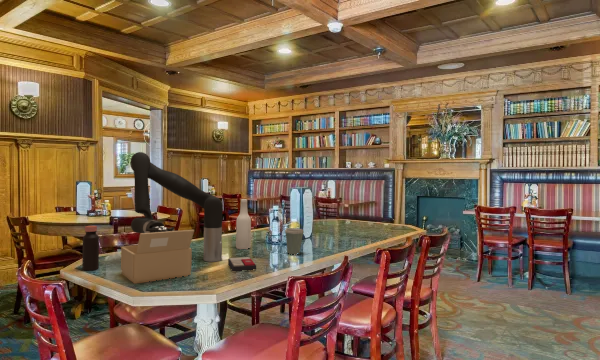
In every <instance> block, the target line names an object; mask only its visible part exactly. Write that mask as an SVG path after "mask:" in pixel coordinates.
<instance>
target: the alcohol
mask: <svg viewBox="0 0 600 360" xmlns="http://www.w3.org/2000/svg"><path fill="white" fill-rule="evenodd" d="M239 209H240V210H239V214H238V216H237V217H236V225H235V226H236V231H235V232H236V233H235V248H236V249H237V250H241V249H246V250H249V249H248V248H250V249H251V246H252V245H251V244H252V241H251V240H252V233H251V232H252V219H251V216H250V215H249V213H248V212H249V211H248V199H246V198H242V199H240V208H239Z"/></svg>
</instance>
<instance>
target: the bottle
mask: <svg viewBox="0 0 600 360" xmlns="http://www.w3.org/2000/svg"><path fill="white" fill-rule="evenodd" d="M84 232H85V235H83V237H82V259H81V260H82V271H84V272H85V271H86V272H90V271H96V270H99V269H100V268H99V267H100V265H99V264H100V236H99V235H98V234H97V232H98V226H97V225H87V226H86V225H85V227H84Z"/></svg>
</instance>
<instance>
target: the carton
mask: <svg viewBox="0 0 600 360" xmlns="http://www.w3.org/2000/svg"><path fill="white" fill-rule="evenodd" d="M137 248H138V244H137V245H127V246H126V245H125V246H121V247H120V250H121V251H120V270H121V274H122V275H123V276H124V277H125V278H127V279H128V280H129V281H130V282H132V283H133V284H135V285H136V284H142V283H149V281H150V282H155V281H156V280H157V281H162V279H163V280H170V279H176V278H175V277H177V278H183V277H182V276H184V277H189V276H188V275H191V276H192V274H191V272H192V263H193V261H192V259H193V258H192V257H193V256H192V252H193V248H191V247H190V248H187V249H177V250H167V251H157V252H147V253H137ZM169 278H170V279H169Z"/></svg>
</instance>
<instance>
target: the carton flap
mask: <svg viewBox="0 0 600 360" xmlns="http://www.w3.org/2000/svg"><path fill="white" fill-rule="evenodd" d="M194 232H195V229H184V230H174V231H168V232H154V233H139V238H138V242H137V245H138V248H137V253H147V252H157V251H167V250H177V249H187V248H191V243H192V239H193V237H194V236H193V235H194Z"/></svg>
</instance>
